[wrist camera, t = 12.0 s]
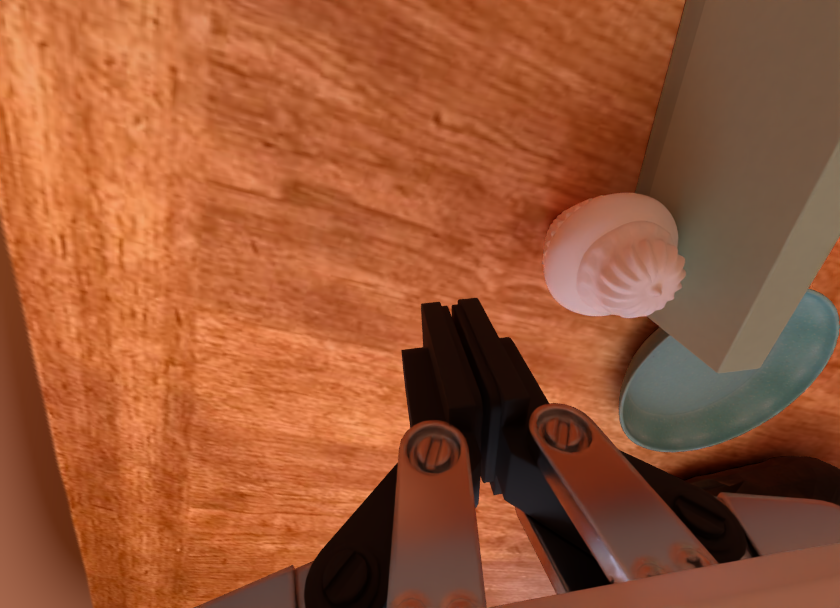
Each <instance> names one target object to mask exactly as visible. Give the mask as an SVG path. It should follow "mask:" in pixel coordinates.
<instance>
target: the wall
mask: <svg viewBox="0 0 840 608" xmlns="http://www.w3.org/2000/svg"><path fill="white" fill-rule="evenodd" d="M635 193H637V194H642V195H646V196H649V197H651V198H654V199H656V200H657V201H659V202H660V203H662V204H663V205H664V206H665V207H666V208H667V209H668V211H669V212H670V213H671V215H672V217H673V218H674V221H675V223H676V226H677V230H678V246H677V249H678V255H680V256H683V257H684V258H685V264H684V267H683V269H684V270H685V271H686V276H685V277H684V279H683V280H682V281H680V283H681V285H682V288H681V289H680V290H678V291H676V292H675V294H674V299H673V300H671V301H667V302H666V304H665V306H664V308H662V309H661V310H655V311H654V312H653V313H652V314H650V315H648V316H647V317H648V318H649V319H651V320H652V321H653V322H654V323H656V324H657V325H658V326H659V327H661V328H662V329H663V330H664V331H666V332H667V333H668V334H669V335H671V336H672V337H673V338H674V339H676V340H677V341H678V342H679V343H681V344H682V345H683V346H684V347H685V348H687V349H688V350H689V351H690V352H692V353H693V354H694V355H695V356H697V357H698V358H699V359H700V360H702V361H703V362H704V363H705V364H707V365H708V366H709V367H710V368H712V369H713V370H714V371H715V372H717V373H727V372H735V371H743V370H751V369H758V368H760V367H761V365H762V364H763V362H764V360H765V359H766V357H767V355H768V354H769V352H770V351H771V349H772V347H773V346H774V344H775V342H776V341H777V339H778V337H779V336H780V334H781V332H782V331H783V329H784V327H785V326H786V324H787V322H788V321H789V319H790V318H791V316H792V314H793V313H794V311H795V309H796V308H797V306H798V304H799V303H800V301H801V299H802V298H803V296H804V294H805V293H806V291H807V289H808V288H809V286H810V285H811V283H812V281H813V280H814V278H815V276H816V275H817V273H818V271H819V270H820V268H821V266H822V265H823V263H824V261H825V260H826V258H827V256H828V255H829V253H830V252H831V250H832V248H833V247H834V245H835V243H836V242H837V240H838V238H839V237H840V0H686V3H685V7H684V11H683V15H682V18H681V22H680V26H679V30H678V33H677V37H676V41H675V45H674V48H673V52H672V56H671V60H670V63H669V67H668V71H667V75H666V78H665V82H664V86H663V90H662V93H661V97H660V101H659V104H658V108H657V112H656V116H655V119H654V123H653V127H652V131H651V134H650V138H649V142H648V146H647V149H646V153H645V157H644V161H643V164H642V168H641V172H640V176H639V179H638V183H637V187H636V191H635Z"/></svg>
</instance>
